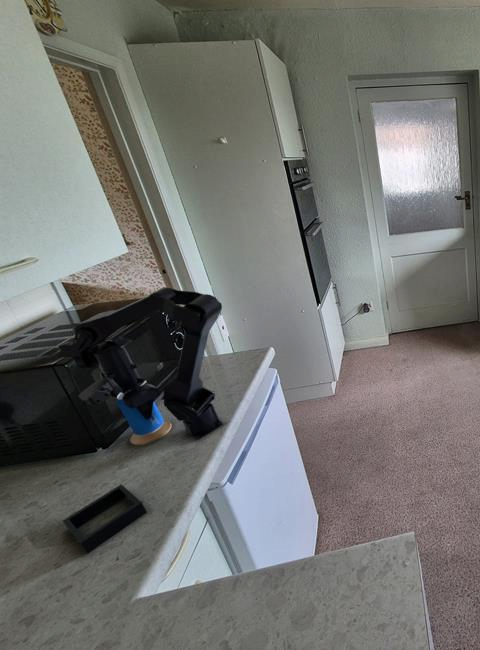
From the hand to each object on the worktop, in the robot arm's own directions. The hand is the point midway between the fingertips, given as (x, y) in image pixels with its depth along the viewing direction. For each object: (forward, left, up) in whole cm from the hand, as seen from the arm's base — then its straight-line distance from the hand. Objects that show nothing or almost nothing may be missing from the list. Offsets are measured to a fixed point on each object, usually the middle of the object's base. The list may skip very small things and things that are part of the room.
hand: (142, 415), depth 99 cm
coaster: (0, 0, -6) cm, 6 cm away
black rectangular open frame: (+17, +23, -6) cm, 29 cm away
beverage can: (0, 0, -5) cm, 5 cm away
